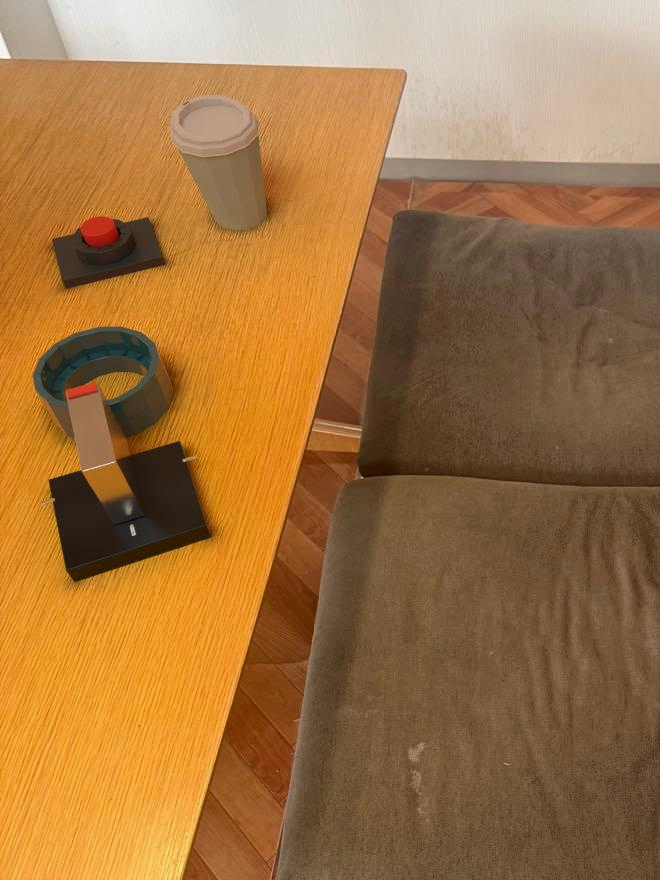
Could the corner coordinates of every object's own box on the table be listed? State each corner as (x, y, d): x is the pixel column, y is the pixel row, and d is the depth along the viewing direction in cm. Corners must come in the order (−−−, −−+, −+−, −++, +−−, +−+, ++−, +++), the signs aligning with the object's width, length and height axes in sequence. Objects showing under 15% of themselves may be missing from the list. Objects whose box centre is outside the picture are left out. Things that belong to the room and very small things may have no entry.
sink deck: (66, 591, 85) (52, 573, 82) (43, 470, 94) (30, 450, 91) (225, 539, 89) (217, 520, 87) (189, 427, 98) (180, 407, 95)
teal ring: (65, 462, 94) (41, 423, 89) (49, 385, 101) (26, 344, 96) (186, 427, 98) (169, 388, 93) (162, 354, 104) (145, 314, 99)
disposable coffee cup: (298, 217, 121) (274, 109, 108) (240, 257, 115) (208, 148, 103) (241, 189, 124) (212, 81, 112) (183, 227, 119) (145, 118, 106)
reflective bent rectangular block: (145, 515, 87) (115, 459, 80) (113, 525, 86) (80, 469, 79) (126, 438, 93) (96, 380, 86) (96, 446, 92) (63, 388, 85)
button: (88, 251, 109) (82, 238, 108) (83, 232, 111) (77, 220, 110) (121, 243, 110) (116, 231, 109) (116, 225, 113) (111, 213, 111)
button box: (69, 295, 110) (55, 268, 107) (58, 253, 115) (45, 226, 111) (167, 271, 113) (157, 244, 110) (153, 231, 118) (143, 204, 115)
